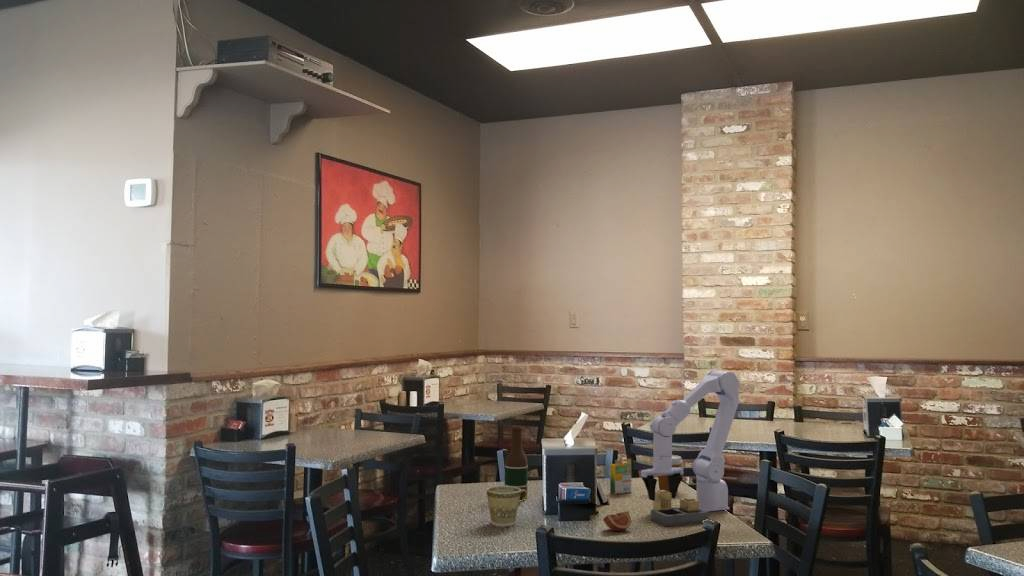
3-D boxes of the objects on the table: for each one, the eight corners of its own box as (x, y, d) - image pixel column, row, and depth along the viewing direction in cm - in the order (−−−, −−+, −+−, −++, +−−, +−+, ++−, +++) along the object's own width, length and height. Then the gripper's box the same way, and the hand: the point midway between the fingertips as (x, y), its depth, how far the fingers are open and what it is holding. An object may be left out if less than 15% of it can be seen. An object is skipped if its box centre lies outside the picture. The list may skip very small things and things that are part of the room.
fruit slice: (613, 535, 221) (613, 517, 221) (597, 529, 227) (597, 512, 227) (635, 531, 226) (635, 513, 226) (619, 525, 231) (619, 508, 232)
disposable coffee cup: (651, 488, 283) (651, 454, 283) (677, 487, 284) (677, 454, 284) (659, 494, 273) (659, 459, 274) (686, 493, 274) (686, 458, 275)
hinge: (611, 504, 257) (602, 475, 257) (598, 510, 256) (589, 481, 255) (587, 493, 273) (578, 466, 272) (575, 499, 271) (567, 472, 270)
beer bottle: (531, 498, 265) (532, 425, 266) (519, 502, 259) (520, 428, 259) (512, 495, 269) (513, 423, 270) (499, 499, 263) (500, 426, 264)
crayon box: (626, 490, 279) (626, 457, 279) (631, 492, 276) (632, 458, 276) (609, 492, 275) (609, 458, 275) (615, 494, 272) (615, 460, 273)
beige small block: (663, 509, 252) (664, 489, 252) (671, 512, 248) (671, 491, 248) (653, 510, 250) (653, 490, 250) (660, 513, 246) (660, 492, 247)
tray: (692, 515, 244) (692, 494, 244) (708, 522, 237) (708, 500, 237) (650, 520, 238) (651, 498, 238) (666, 526, 231) (666, 504, 231)
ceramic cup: (497, 530, 225) (497, 494, 225) (479, 522, 233) (480, 488, 233) (535, 524, 232) (536, 489, 232) (517, 516, 240) (517, 483, 240)
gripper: (674, 451, 256) (673, 494, 256) (635, 454, 250) (635, 497, 250) (687, 455, 250) (687, 499, 249) (648, 458, 244) (647, 502, 243)
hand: (662, 498), depth 249 cm, fingers open, 7 cm apart
